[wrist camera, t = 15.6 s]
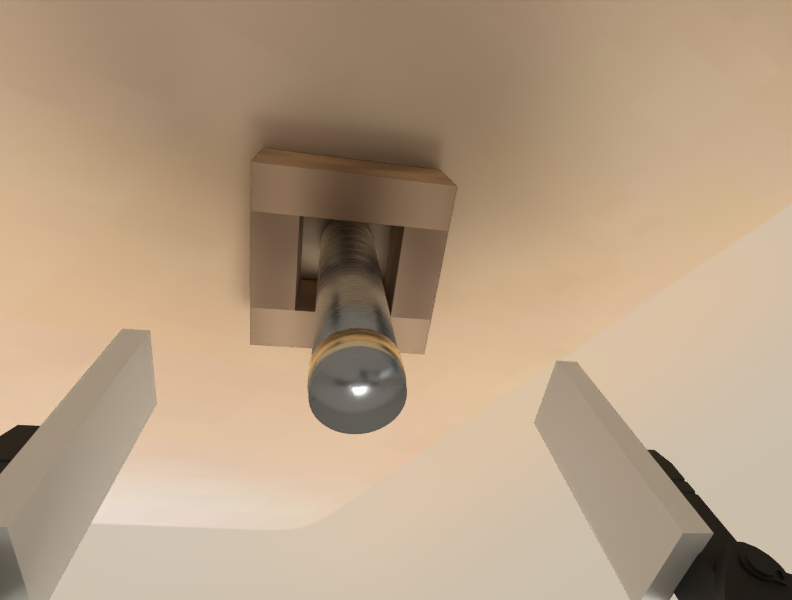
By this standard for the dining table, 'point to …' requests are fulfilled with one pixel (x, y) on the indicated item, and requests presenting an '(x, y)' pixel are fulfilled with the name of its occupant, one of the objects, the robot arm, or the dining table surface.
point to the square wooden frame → (351, 201)
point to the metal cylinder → (353, 337)
